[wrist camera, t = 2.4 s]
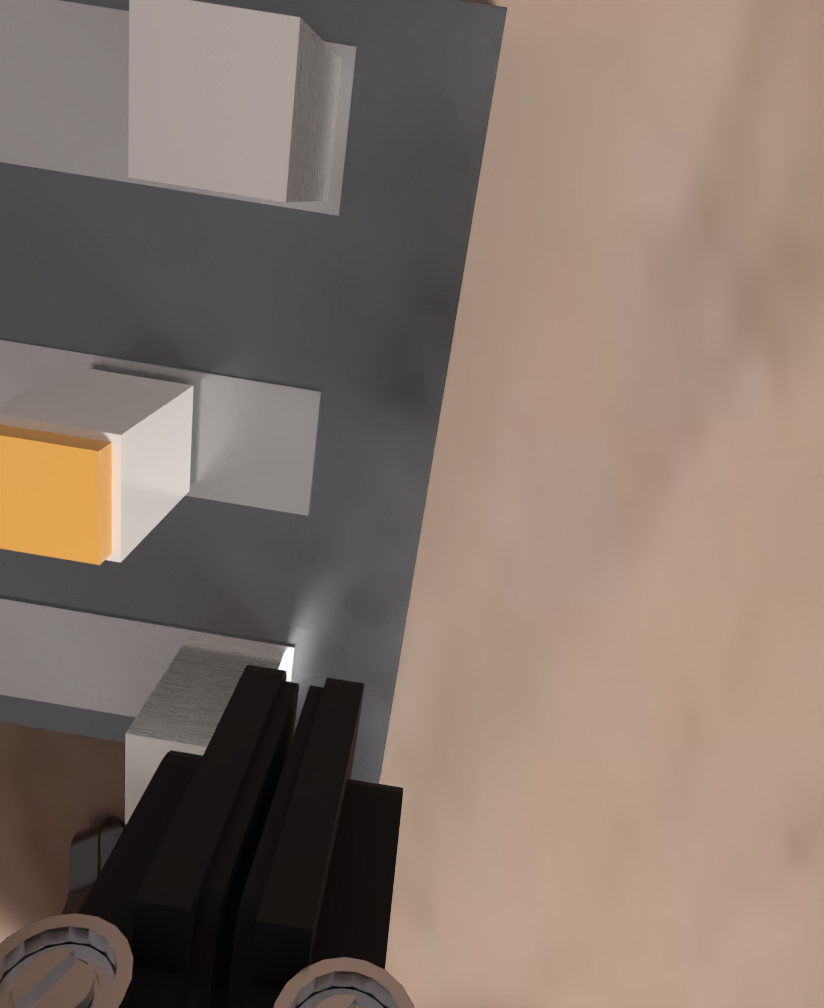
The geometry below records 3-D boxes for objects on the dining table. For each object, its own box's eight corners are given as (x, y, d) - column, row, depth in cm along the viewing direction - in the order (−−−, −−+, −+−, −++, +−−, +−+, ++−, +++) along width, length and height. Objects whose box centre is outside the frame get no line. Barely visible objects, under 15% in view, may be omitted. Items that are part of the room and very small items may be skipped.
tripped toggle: (81, 367, 20) (-38, 419, 16) (193, 385, 20) (108, 443, 16) (83, 473, 21) (-28, 552, 17) (189, 491, 21) (108, 574, 17)
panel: (-139, -74, 19) (-429, -201, 13) (503, 25, 19) (518, -55, 13) (-61, 670, 27) (-215, 807, 21) (384, 745, 27) (359, 905, 21)
